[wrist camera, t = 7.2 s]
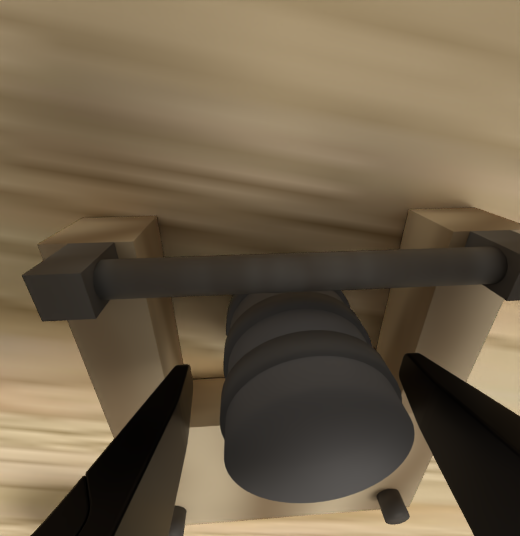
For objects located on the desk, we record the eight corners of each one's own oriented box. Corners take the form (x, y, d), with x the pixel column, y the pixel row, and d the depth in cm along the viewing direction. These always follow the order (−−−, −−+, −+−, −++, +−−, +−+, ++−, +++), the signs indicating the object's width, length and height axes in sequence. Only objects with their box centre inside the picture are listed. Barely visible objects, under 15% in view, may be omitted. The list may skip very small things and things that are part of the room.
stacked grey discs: (346, 252, 11) (447, 375, 6) (332, 345, 13) (396, 499, 8) (224, 256, 11) (207, 389, 5) (230, 350, 13) (224, 512, 7)
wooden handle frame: (475, 207, 10) (607, 254, 7) (388, 460, 18) (428, 551, 14) (82, 217, 10) (-19, 277, 6) (161, 477, 17) (138, 577, 13)
